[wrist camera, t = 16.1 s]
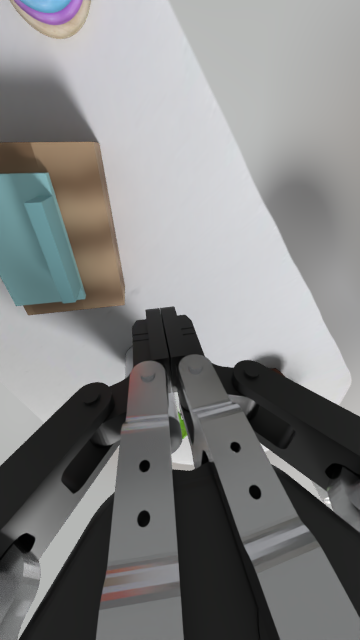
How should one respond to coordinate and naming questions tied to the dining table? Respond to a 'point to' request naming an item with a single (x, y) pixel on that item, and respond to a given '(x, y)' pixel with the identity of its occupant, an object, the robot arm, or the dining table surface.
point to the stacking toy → (54, 15)
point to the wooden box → (76, 215)
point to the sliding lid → (35, 243)
